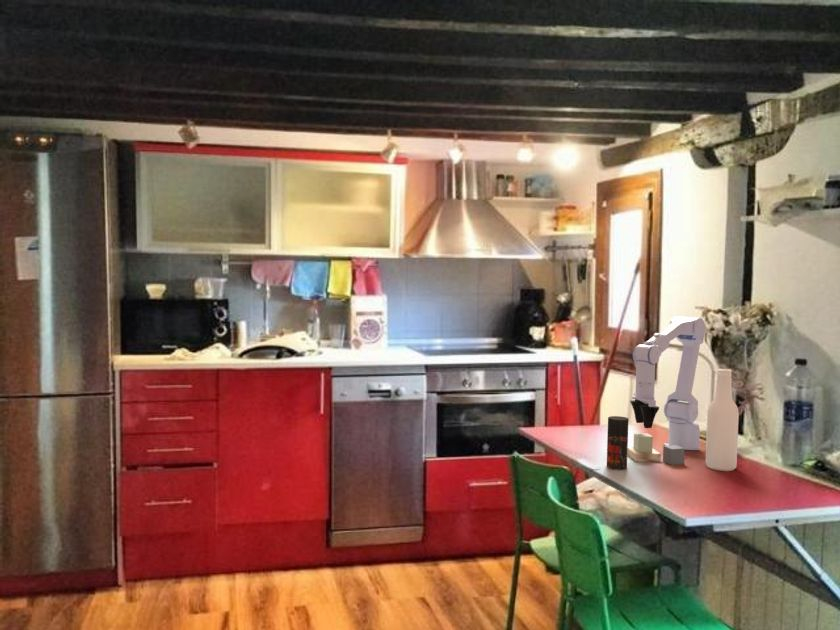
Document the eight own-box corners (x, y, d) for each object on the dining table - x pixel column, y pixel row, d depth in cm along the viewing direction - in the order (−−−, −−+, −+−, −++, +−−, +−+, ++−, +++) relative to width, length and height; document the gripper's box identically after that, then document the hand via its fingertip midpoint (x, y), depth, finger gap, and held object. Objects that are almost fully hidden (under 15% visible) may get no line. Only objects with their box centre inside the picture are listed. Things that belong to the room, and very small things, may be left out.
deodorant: (604, 464, 233) (605, 416, 232) (623, 464, 233) (625, 416, 232) (609, 469, 227) (610, 420, 226) (629, 470, 227) (630, 420, 226)
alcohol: (699, 466, 233) (702, 368, 231) (716, 462, 237) (720, 366, 235) (724, 473, 225) (728, 372, 223) (742, 468, 230) (746, 370, 228)
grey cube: (675, 460, 239) (675, 445, 239) (684, 464, 235) (684, 448, 234) (662, 461, 238) (663, 445, 237) (671, 465, 233) (672, 449, 233)
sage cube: (647, 449, 244) (647, 433, 243) (652, 452, 239) (652, 436, 239) (633, 448, 243) (634, 433, 243) (638, 452, 239) (638, 436, 239)
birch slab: (651, 455, 246) (651, 447, 245) (660, 461, 238) (660, 453, 237) (627, 454, 245) (627, 447, 245) (635, 461, 237) (635, 453, 237)
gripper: (625, 379, 247) (624, 420, 248) (640, 386, 233) (638, 430, 234) (646, 379, 248) (645, 420, 249) (663, 386, 233) (661, 430, 234)
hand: (643, 425), depth 241 cm, fingers open, 7 cm apart
